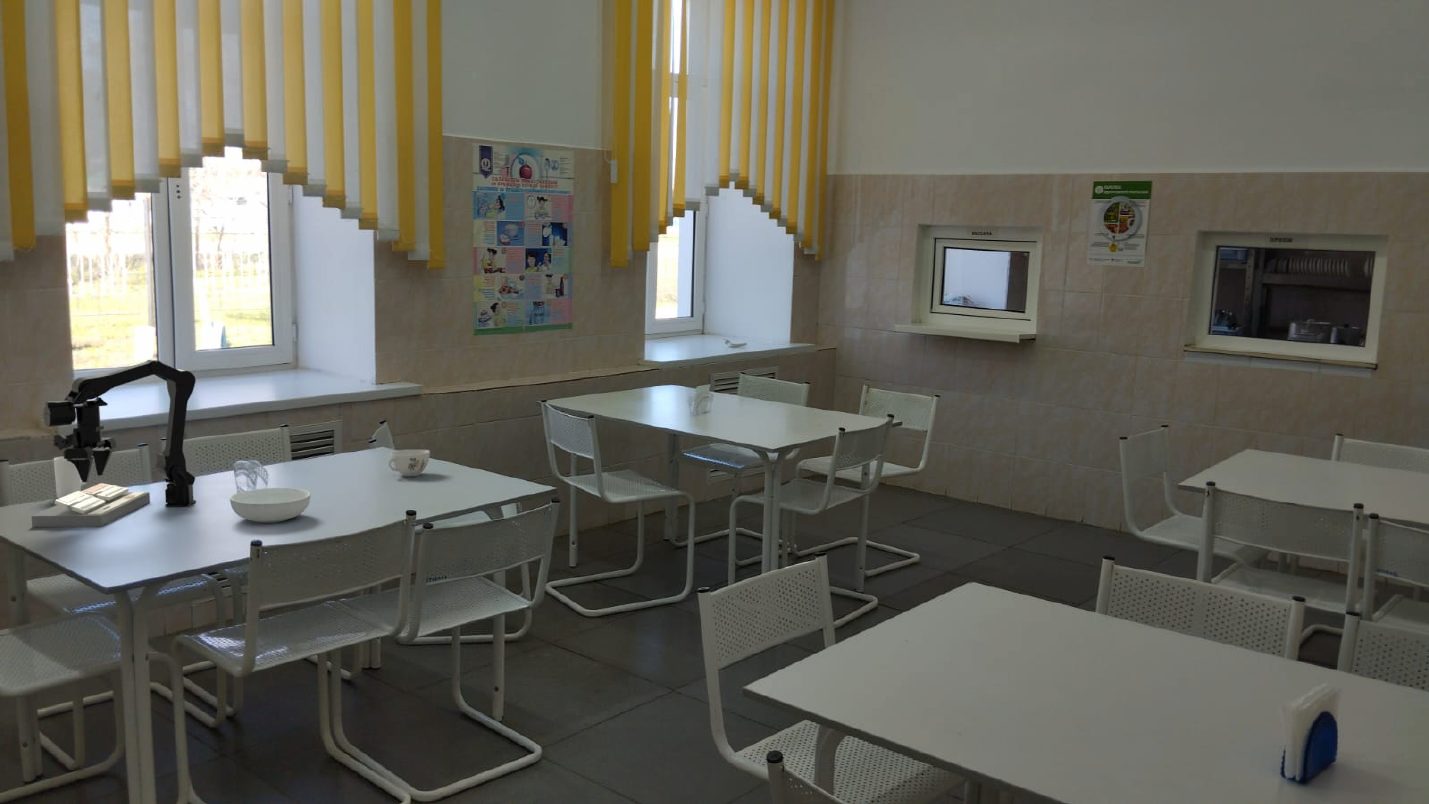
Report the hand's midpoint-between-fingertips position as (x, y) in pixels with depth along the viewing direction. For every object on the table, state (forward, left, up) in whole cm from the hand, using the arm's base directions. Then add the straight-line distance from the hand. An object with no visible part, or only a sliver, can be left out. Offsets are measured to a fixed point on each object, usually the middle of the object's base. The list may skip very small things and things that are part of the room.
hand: (92, 478), depth 311 cm
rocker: (+2, +3, -6) cm, 7 cm away
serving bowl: (-49, +3, -11) cm, 50 cm away
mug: (+19, -28, -11) cm, 35 cm away
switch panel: (+2, -4, -11) cm, 12 cm away
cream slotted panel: (+2, -11, -6) cm, 12 cm away
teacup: (-74, -59, -11) cm, 95 cm away
